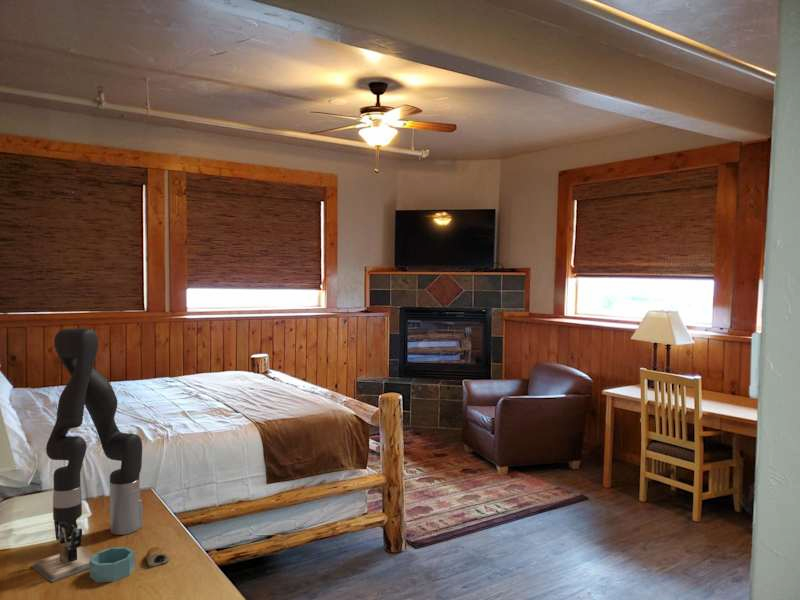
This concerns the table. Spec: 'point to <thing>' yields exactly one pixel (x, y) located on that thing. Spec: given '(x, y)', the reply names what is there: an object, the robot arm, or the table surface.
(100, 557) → the bowl
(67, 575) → the mat
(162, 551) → the pastry
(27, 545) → the table surface
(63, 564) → the lid
